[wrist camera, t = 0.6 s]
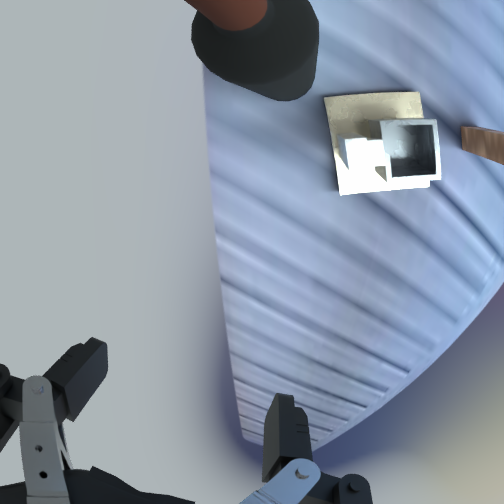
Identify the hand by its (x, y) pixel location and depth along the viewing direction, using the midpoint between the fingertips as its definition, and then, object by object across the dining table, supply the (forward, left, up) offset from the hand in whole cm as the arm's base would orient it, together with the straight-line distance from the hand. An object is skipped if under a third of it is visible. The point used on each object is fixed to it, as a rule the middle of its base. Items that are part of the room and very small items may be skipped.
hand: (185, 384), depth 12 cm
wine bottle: (-15, +5, -29) cm, 33 cm away
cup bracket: (-5, +16, -29) cm, 33 cm away
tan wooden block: (-5, +29, -29) cm, 41 cm away
